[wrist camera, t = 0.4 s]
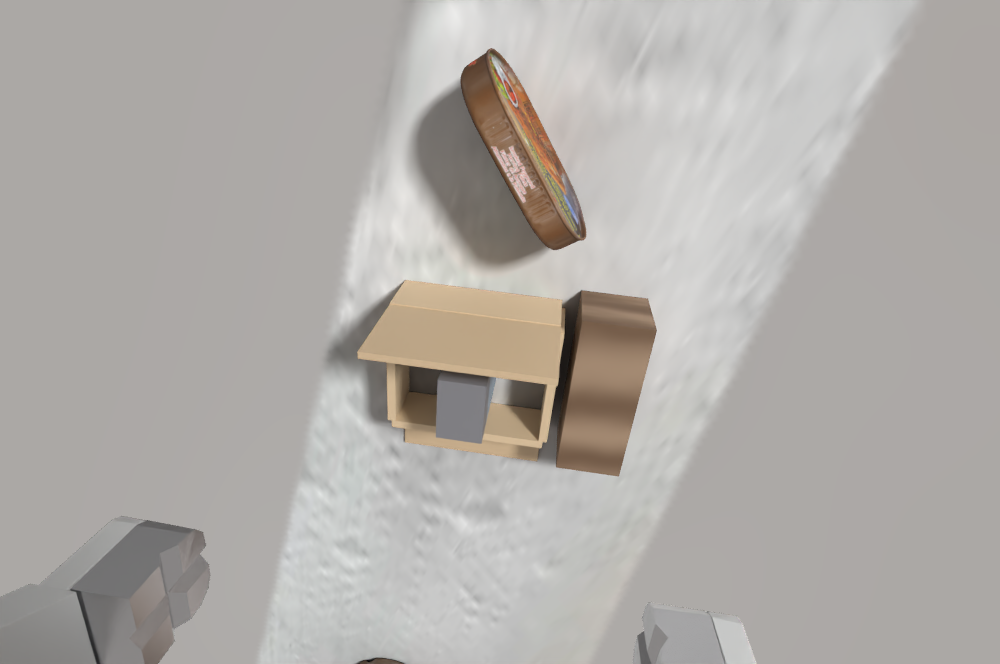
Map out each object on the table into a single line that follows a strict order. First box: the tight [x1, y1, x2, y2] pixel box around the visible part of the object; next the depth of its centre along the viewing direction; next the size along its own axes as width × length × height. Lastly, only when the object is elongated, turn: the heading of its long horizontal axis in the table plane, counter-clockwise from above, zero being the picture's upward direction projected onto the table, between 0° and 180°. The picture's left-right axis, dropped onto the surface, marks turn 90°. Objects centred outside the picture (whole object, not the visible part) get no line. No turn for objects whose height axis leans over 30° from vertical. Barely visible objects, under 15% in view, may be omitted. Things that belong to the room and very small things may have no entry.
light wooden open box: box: [357, 280, 565, 461], centre depth 49 cm, size 20×16×13 cm
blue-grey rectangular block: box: [436, 370, 496, 444], centre depth 49 cm, size 6×4×10 cm, turn 175°
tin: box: [461, 48, 586, 250], centre depth 40 cm, size 15×3×8 cm, turn 30°
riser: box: [556, 290, 657, 476], centre depth 50 cm, size 16×6×6 cm, turn 175°
